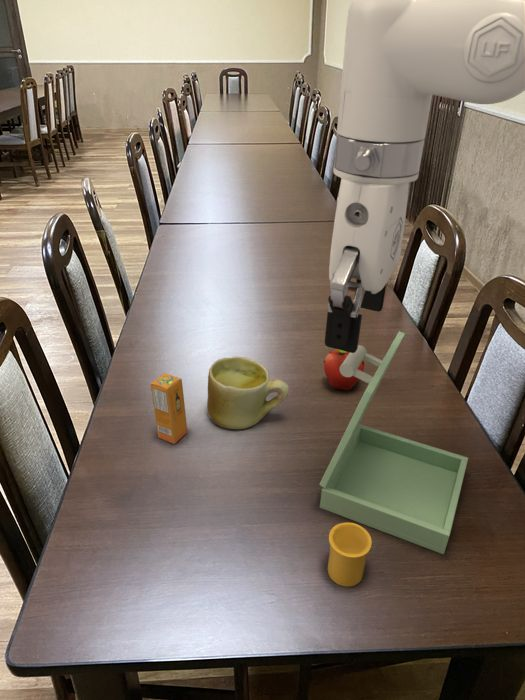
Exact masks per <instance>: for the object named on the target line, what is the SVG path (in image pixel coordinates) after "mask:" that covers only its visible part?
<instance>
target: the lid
mask: <svg viewBox="0 0 525 700" xmlns="http://www.w3.org/2000/svg"><path fill="white" fill-rule="evenodd" d="M405 335H406V333H405V332H402V331H400V330H399V331H398V332H397V334H396V336H395V338H394V339H393V341H392V343H391V345H390V347H389V348H388V349H387V352H386V354H384V357H383V359H380V358H377V356H376V357H375V356H374V355H372V354H370V353H368V352H367V349H366V348H365V346H364V345H362V344H358V348H357V350H356V352H355V353H349V354H348V356H347V357H346V359H345V360H344V362H343V363H342V365H341V366H340V369H339V370H340V373H341V374H342V375H343V376H345V377H351V376H355V377H357V378H359V380H361V381H363V382H364V383H366V384H367V386H366V388H365V390H364V392H363V395H362V396H361V398H360V400H359V402H358V405H357V406H356V409H355V410H354V412H353V414H352V417H351V419H350V421H349V423H348V425H347V427H346V429H345V431H344V433H343V435H342V436H341V439H340V441H339V443H338V446H337V448H336V449H335V451H334V453H333V455H332V458H331V459H330V461H329V464H328V466H327V467H326V469H325V472H324V474H323V476H322V478H321V480H320V482H319V484H318V485H319V486H320V487H322V488H323V487H324V488H325V487H326V485H327V483H328V481H329V479H330V478H331V476H332V474H333V472H334V470H335V468H336V466H337V465H338V463H339V461H340V459H341V457H342V455H343V453H344V452H345V450H346V448H347V446H348V444H349V442H350V440H351V439H352V437H353V435H354V433H355V431H356V429H357V427H358V426H359V424H360V425H361V422H362V420H363V418H364V416H365V414H366V412H367V410H368V409H369V406H370V404H371V402H372V400H373V398H374V397H375V394H376V392H377V390H378V389H379V386H380V384H381V382H382V381H383V378H384V376H385V375H386V372H387V370H388V368H389V366H390V365H391V363H392V360H393V358H394V356H395V355H396V352H397V351H398V349H399V346H400V344H401V343H402V341H403V339H404V337H405ZM362 360H364V362H368V363H369V364H371V365H373V366H374V367H376V368H377V370H376V371H375V373H374V374H373V376H372V375H370V374H368V373H366V372H364V371H363V372H362V371H360V370H358V369H357V368H358V367H359V365H360V363H361V362H362Z"/></svg>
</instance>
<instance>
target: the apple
mask: <svg viewBox="0 0 525 700" xmlns="http://www.w3.org/2000/svg"><path fill="white" fill-rule="evenodd" d="M349 353H350V352H346V351H342V350H338V349H335V350H332V351H329V353H328V354H327V355H326V356H325V359H324V360H323V369H324V374H325V376H326V378H327V381H328V383H329V384H330V385H331V387H332V388H334V389H338V390H342V391H350V390H351V389H352V388H353V387H354V386H355V385H356V384H357V382H358V381H359V380H360V379H359V378H357V377H355V376H351V377H345V376H343V375H342V374H341V373H340V370H339V369H340V366H341V365H342V363H343V362H344V360H345V359H346V357H347V356H348V354H349ZM357 369H358V370H360V371H362V372H364V370H365V360H362V362H361V363H360V365H359V367H358V368H357Z"/></svg>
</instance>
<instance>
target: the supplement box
mask: <svg viewBox="0 0 525 700" xmlns="http://www.w3.org/2000/svg"><path fill="white" fill-rule="evenodd" d="M150 390H151V395H152V396H151V397H152V403H153V410H154V418H155V424H156V429H157V436H158V438H159V439H161V440H163V441H165V442H167V443H170V444H173V445H175V444H177V443H178V442H179V441H180V440H181V439H182V438H183V437H184V436H185V435H186V434H188V423H187V415H186V414H187V413H186V407H185V397H184V395H185V394H184V387H183V379H182V378H181V377H178V376H175V375H173V374H172V375H171V374H168V373H162V374H161V375H160V376H159V377H158V378H156V379H155V380H154V381H151V383H150Z"/></svg>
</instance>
